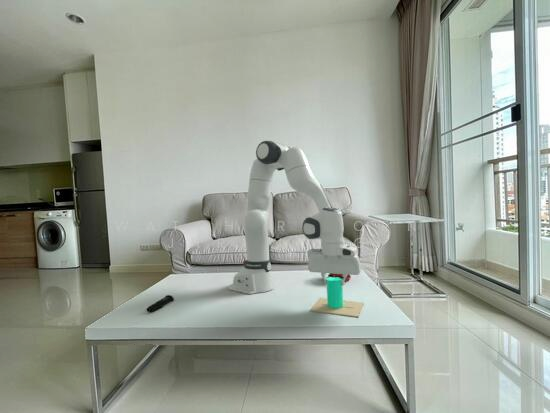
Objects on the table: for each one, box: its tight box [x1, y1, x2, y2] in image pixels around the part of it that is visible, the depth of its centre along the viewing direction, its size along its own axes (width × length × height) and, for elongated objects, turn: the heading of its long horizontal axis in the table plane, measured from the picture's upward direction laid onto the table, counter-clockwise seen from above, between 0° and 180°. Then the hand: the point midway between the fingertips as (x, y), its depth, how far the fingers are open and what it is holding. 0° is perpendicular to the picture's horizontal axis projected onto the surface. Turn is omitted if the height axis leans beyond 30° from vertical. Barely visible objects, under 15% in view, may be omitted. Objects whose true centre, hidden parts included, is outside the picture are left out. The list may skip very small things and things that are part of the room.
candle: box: [326, 277, 344, 308], centre depth 110 cm, size 6×6×12 cm
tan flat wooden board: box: [309, 297, 365, 318], centre depth 110 cm, size 18×14×1 cm
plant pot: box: [327, 273, 352, 282], centre depth 147 cm, size 13×13×12 cm
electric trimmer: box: [146, 294, 175, 313], centre depth 119 cm, size 4×16×3 cm, turn 167°
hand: (334, 284), depth 110 cm, fingers closed on candle, 5 cm apart
